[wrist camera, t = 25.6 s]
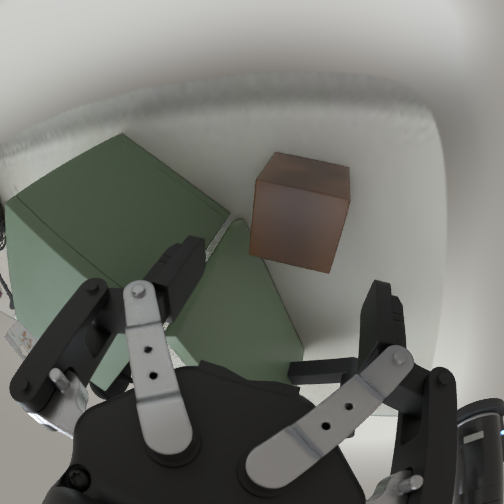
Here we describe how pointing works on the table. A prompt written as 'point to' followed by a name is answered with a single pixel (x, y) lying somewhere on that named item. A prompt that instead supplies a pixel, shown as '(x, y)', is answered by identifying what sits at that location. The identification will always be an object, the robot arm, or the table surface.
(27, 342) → the ink cartridge box
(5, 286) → the massage brush
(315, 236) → the block
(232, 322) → the door
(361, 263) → the table surface
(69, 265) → the cupboard
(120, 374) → the webcam
